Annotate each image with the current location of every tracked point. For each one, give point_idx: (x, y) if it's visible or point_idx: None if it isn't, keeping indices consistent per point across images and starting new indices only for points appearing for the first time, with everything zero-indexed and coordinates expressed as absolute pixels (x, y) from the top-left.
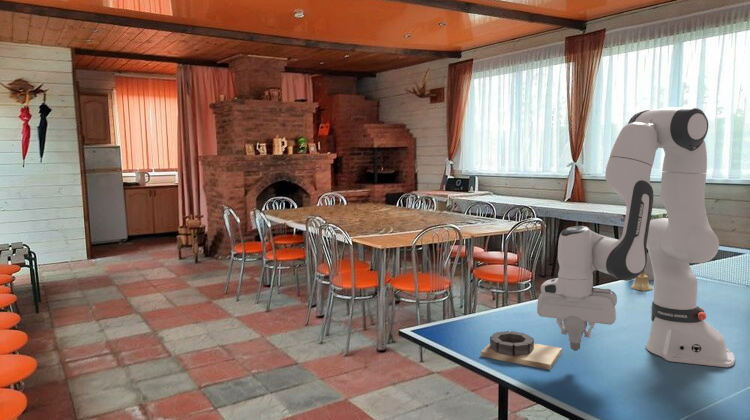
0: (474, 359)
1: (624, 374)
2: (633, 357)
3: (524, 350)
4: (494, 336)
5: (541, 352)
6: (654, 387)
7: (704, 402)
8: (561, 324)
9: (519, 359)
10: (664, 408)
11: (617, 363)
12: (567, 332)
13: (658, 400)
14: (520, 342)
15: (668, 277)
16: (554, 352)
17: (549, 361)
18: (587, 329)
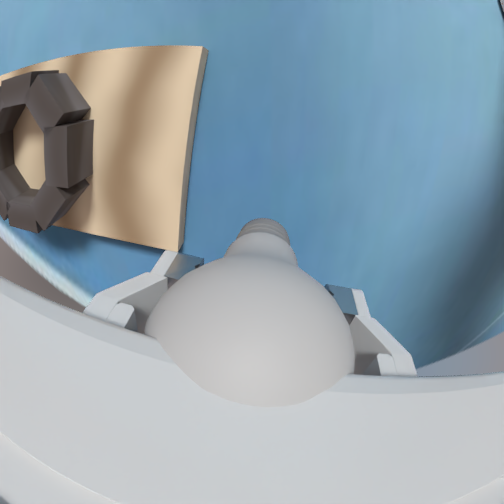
0: (14, 231)
1: (427, 215)
2: (476, 61)
3: (71, 200)
4: None
5: (124, 140)
6: (460, 280)
7: (497, 312)
8: (144, 323)
9: (83, 230)
10: (425, 356)
11: (429, 118)
12: (202, 265)
13: (434, 334)
14: (41, 187)
15: None
16: (172, 115)
17: (168, 225)
18: (347, 313)
